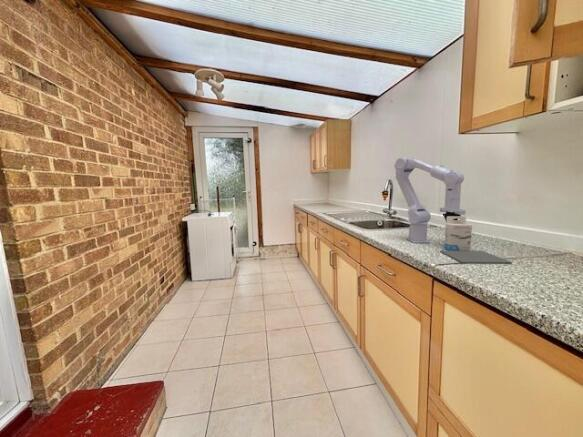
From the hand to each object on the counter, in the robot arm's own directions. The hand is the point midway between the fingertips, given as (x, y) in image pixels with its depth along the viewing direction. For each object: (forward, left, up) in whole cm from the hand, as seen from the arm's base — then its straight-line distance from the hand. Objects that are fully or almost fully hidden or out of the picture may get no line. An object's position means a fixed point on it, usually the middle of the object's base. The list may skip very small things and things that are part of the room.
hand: (450, 229), depth 115 cm
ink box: (+6, 0, -9) cm, 11 cm away
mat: (+17, 0, -8) cm, 19 cm away
